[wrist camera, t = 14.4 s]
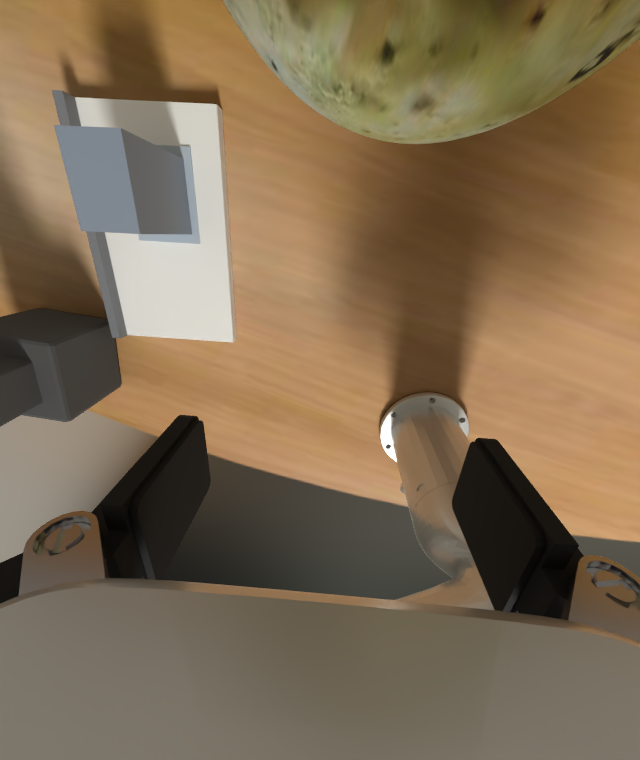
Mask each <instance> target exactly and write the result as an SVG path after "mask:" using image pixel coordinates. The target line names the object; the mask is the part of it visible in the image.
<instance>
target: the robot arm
mask: <svg viewBox="0 0 640 760" xmlns="http://www.w3.org/2000/svg"><path fill="white" fill-rule="evenodd" d="M430 398H431V399H430ZM379 434H380V440H381V444H382V447H383V448H384V450H385V452H386V453H387V454H388V455H389V456H390V457H391V458H392V459H393V460H395V461H396V462H397V464H398V467H399V471H400V475H401V479H402V483H401V487H400V489H401V491H402V492H403V493H404V494H405V495H406V499H407V503H408V506H409V510H410V514H411V518H412V522H413V526H414V530H415V534H416V537H417V539H418V542H419V544H420V546H421V548H422V549H423V551H424V552H425V553H426V555H427V556H428V557H429V558H430V560H431V561H433V563H435V564H436V565H437V566H438V567H439V568H440V569H441V570H443V571H444V572H445V573H447V574H448V575H449V576H451V577H452V578H453V579H452V580H450V581H448V582H445V583H443V584H440V585H438V586H436V587H433V588H430V589H427V590H424V591H421V592H418V593H415V594H412V595H409V596H406V597H403V598H400V599H397V600H385V599H374V598H363V597H352V596H342V595H331V594H320V593H308V592H297V591H287V590H276V589H264V588H251V587H241V586H229V585H217V584H205V583H195V582H179V581H165V580H161V579H162V578H163V577H164V575H165V573H166V571H167V569H168V567H169V565H170V563H171V561H172V559H173V557H174V555H175V553H176V551H177V550H178V547H179V546H180V544H181V542H182V540H183V538H184V536H185V534H186V532H187V530H188V528H189V526H190V524H191V522H192V520H193V518H194V517H195V515H196V512H197V511H198V509H199V507H200V505H201V503H202V501H203V499H204V497H205V495H206V493H207V491H208V489H209V486H210V472H209V464H208V456H207V448H206V440H205V432H204V425H203V422H202V421H199V419H198V417H197V416H187V415H179V416H178V417H177V418H176V419H175V420H174V421H173V422H172V424H171V425H170V426H169V427H168V428H167V429H166V430H165V431H164V433H163V434H162V435H161V436H160V437H159V438H158V439H157V440H156V442H155V443H154V444H153V445H152V446H151V447H150V448H149V449H148V450H147V452H146V453H145V454H144V455H143V456H142V457H141V458H140V459H139V460H138V461H137V462H136V463H135V465H134V466H133V467H132V468H131V469H130V470H129V471H128V472H127V473H126V475H125V476H124V477H123V478H122V479H121V480H120V481H119V483H118V484H117V485H116V486H115V487H114V488H113V489H112V490H111V491H110V492H109V494H108V495H107V496H106V497H105V498H104V499H103V500H102V501H101V503H100V504H99V505H98V506H97V507H96V508H95V509H94V510H93V511H92V513H91V512H86V511H77V512H71V513H67V514H64V515H61V516H59V517H56V518H54V519H52V520H50V521H49V522H47V523H46V524H44V525H43V526H41V527H40V528H39V529H38V530H37V531H35V532H34V533H33V534H32V535H31V537H30V538H29V539H28V541H27V543H26V545H25V548H24V552H23V553H22V554H19V555H17V556H15V557H13V558H10V559H8V560H6V561H4V562H1V563H0V760H640V579H639V578H638V577H637V576H636V575H634V574H633V573H632V572H631V571H629V570H628V569H626V568H625V567H623V566H621V565H620V564H618V563H616V562H614V561H612V560H609V559H607V558H604V557H600V556H596V555H586V556H583V555H582V553H581V552H580V551H579V549H578V546H579V545H578V543H577V542H576V541H575V540H574V538H573V537H572V536H571V534H570V533H569V532H568V531H567V529H566V528H565V527H564V525H563V524H562V523H561V522H560V520H559V519H558V518H557V516H556V515H555V514H554V513H553V511H552V510H551V509H550V507H549V506H548V505H547V503H546V502H545V501H544V500H543V498H542V497H541V496H540V494H539V493H538V492H537V491H536V489H535V488H534V487H533V485H532V484H531V483H530V482H529V480H528V479H527V478H526V476H525V475H524V474H523V473H522V471H521V470H520V469H519V467H518V466H517V465H516V463H515V462H514V461H513V460H512V458H511V457H510V456H509V454H508V453H507V452H506V451H505V449H504V448H503V447H502V445H501V444H500V443H499V442H498V441H497V440H496V439H486V438H477V439H476V440H475V442H471V443H470V441H469V440H468V434H469V421H468V418H467V415H466V414H465V412H464V410H463V409H462V408H461V406H460V405H459V404H458V403H457V402H456V401H454V400H453V399H451V398H449V397H447V396H445V395H442V394H439V393H431V392H426V393H417V394H412V395H410V396H407V397H405V398H403V399H401V400H399V401H398V402H396V403H395V404H394V405H392V406H391V407H390V408H389V409H388V411H387V412H386V413H385V415H384V417H383V419H382V421H381V424H380V432H379Z"/></svg>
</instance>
